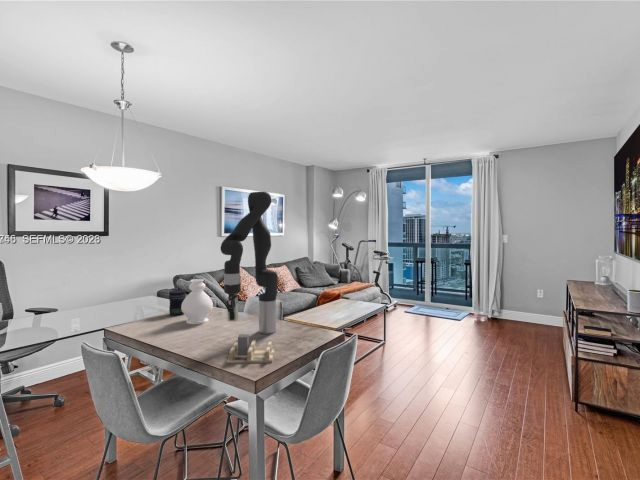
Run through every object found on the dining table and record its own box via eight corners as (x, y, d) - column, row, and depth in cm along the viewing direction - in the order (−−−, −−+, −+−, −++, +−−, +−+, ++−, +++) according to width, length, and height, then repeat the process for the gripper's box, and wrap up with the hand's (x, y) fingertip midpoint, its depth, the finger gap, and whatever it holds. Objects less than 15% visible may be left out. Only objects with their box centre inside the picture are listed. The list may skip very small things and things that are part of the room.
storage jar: (187, 314, 216) (186, 291, 216) (170, 316, 211) (170, 293, 210) (184, 311, 225) (183, 289, 224) (168, 313, 219) (167, 290, 219)
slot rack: (233, 350, 155) (233, 340, 155) (275, 349, 156) (275, 339, 155) (225, 363, 140) (225, 352, 140) (271, 362, 141) (271, 352, 140)
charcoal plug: (239, 352, 149) (239, 334, 149) (248, 352, 150) (248, 334, 149) (237, 355, 145) (237, 337, 145) (247, 355, 146) (247, 337, 145)
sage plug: (229, 318, 162) (229, 302, 161) (238, 318, 162) (237, 302, 162) (227, 321, 158) (227, 304, 157) (236, 321, 158) (236, 304, 158)
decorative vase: (188, 317, 211) (188, 277, 210) (216, 317, 211) (216, 277, 210) (176, 325, 193) (175, 282, 192) (207, 325, 193) (207, 282, 192)
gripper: (227, 280, 166) (228, 314, 167) (220, 285, 152) (221, 323, 153) (243, 279, 166) (243, 314, 167) (237, 285, 152) (238, 322, 153)
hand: (233, 318), depth 160 cm, fingers closed on sage plug, 4 cm apart
